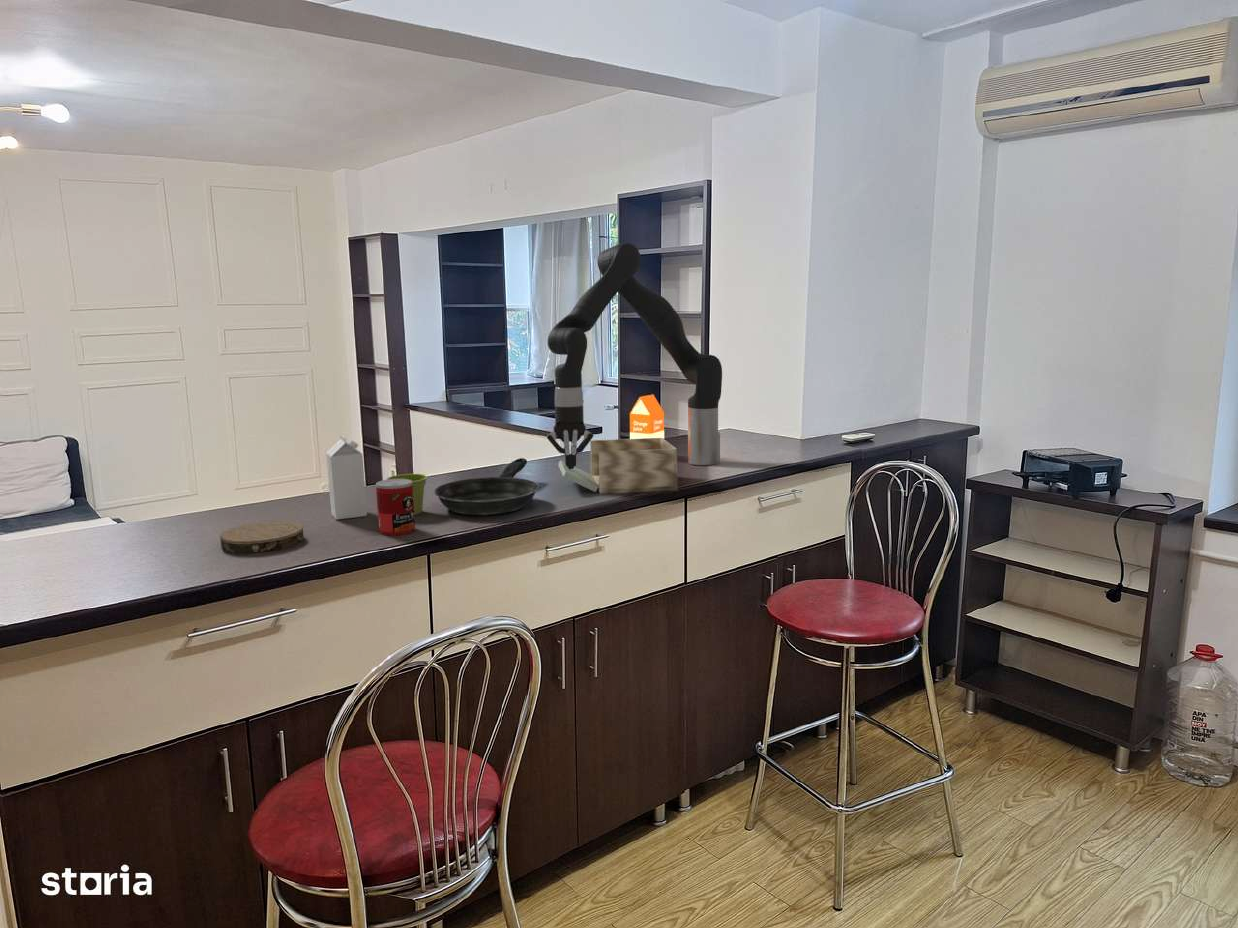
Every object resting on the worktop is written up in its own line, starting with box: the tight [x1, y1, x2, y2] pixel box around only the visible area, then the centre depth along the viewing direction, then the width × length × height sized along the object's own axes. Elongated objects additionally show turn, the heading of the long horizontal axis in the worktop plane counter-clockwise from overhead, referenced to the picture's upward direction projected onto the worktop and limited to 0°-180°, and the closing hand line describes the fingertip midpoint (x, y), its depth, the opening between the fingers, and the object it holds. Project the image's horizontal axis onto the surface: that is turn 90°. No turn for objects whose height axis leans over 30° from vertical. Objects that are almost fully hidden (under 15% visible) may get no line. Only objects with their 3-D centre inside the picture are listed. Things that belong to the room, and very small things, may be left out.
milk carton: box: [325, 434, 368, 520], centre depth 192 cm, size 7×7×19 cm
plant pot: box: [385, 473, 428, 516], centre depth 194 cm, size 9×9×9 cm
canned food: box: [375, 478, 416, 536], centre depth 178 cm, size 8×8×11 cm
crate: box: [589, 438, 678, 495], centre depth 222 cm, size 20×20×11 cm
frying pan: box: [433, 457, 539, 516], centre depth 209 cm, size 44×25×7 cm, turn 168°
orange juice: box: [629, 394, 665, 440], centre depth 261 cm, size 8×9×20 cm
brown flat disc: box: [219, 520, 305, 555], centre depth 171 cm, size 16×16×3 cm
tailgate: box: [557, 459, 598, 493], centre depth 220 cm, size 2×17×9 cm
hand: (570, 468), depth 219 cm, fingers closed
